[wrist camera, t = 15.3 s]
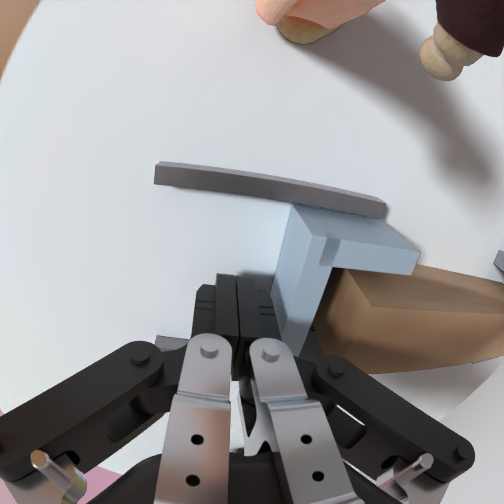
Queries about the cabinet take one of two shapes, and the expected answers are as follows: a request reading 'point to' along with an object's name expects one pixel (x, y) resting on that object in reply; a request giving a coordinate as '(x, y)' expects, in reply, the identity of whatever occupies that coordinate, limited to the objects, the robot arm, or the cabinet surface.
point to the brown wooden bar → (410, 319)
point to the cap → (328, 266)
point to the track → (260, 188)
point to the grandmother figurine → (432, 50)
